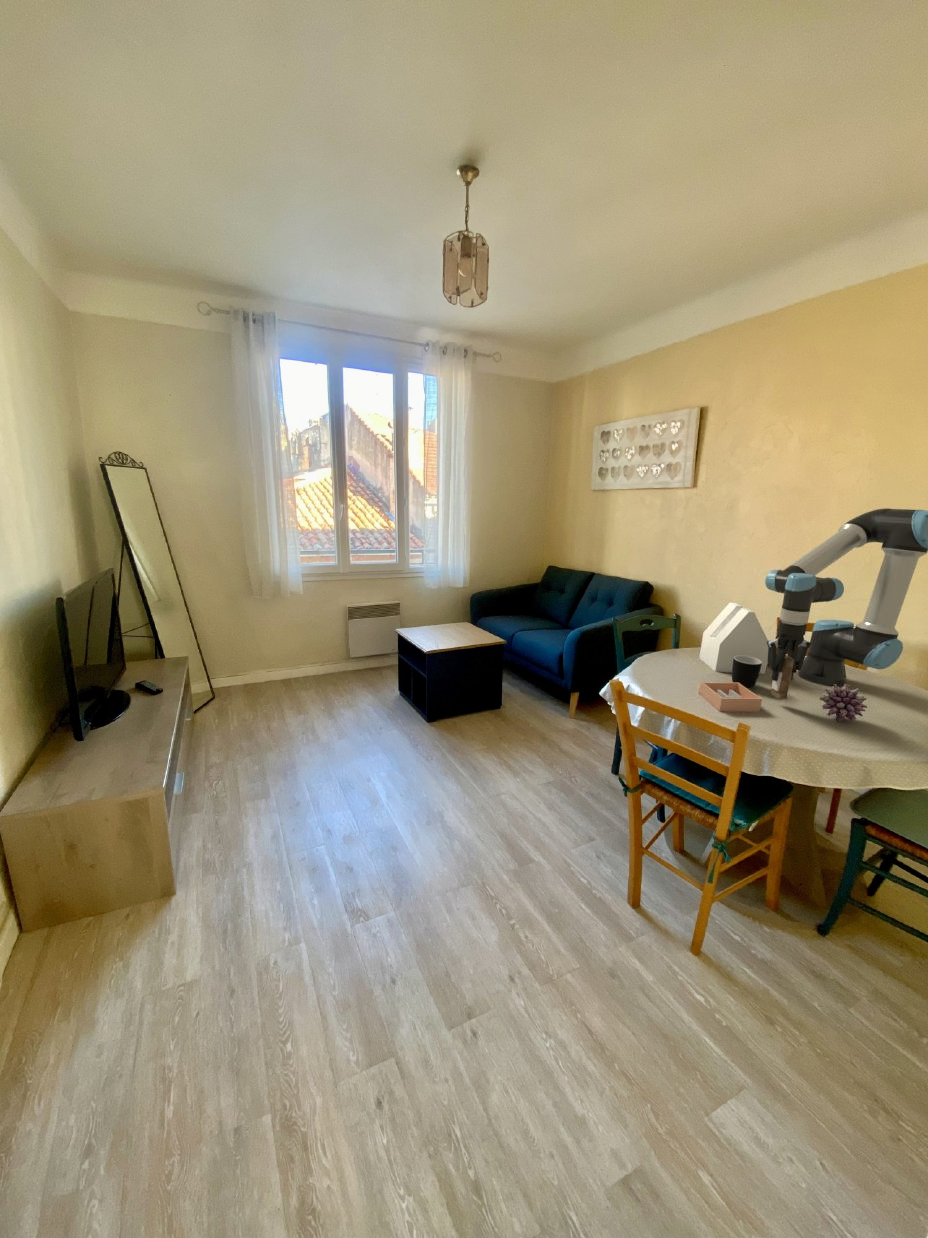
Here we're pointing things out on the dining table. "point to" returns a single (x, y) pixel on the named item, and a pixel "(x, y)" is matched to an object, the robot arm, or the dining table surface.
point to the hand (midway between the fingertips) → (779, 689)
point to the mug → (746, 670)
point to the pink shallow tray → (730, 696)
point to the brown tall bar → (784, 678)
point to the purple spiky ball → (843, 702)
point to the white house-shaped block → (733, 639)
